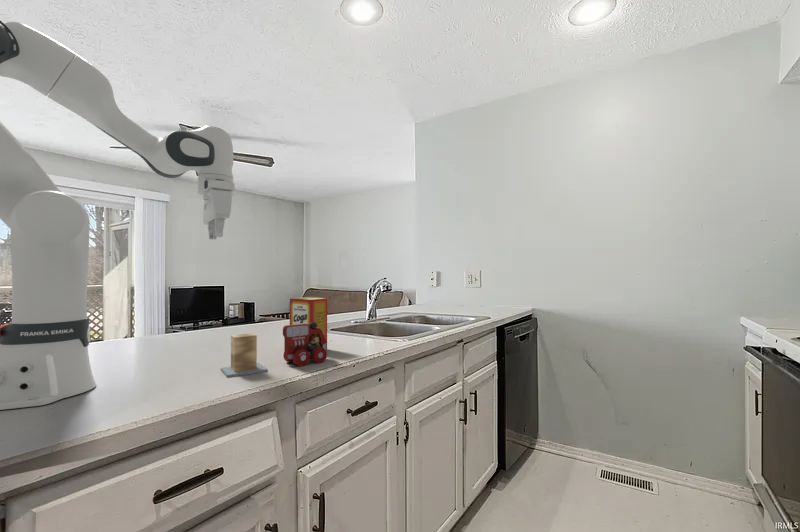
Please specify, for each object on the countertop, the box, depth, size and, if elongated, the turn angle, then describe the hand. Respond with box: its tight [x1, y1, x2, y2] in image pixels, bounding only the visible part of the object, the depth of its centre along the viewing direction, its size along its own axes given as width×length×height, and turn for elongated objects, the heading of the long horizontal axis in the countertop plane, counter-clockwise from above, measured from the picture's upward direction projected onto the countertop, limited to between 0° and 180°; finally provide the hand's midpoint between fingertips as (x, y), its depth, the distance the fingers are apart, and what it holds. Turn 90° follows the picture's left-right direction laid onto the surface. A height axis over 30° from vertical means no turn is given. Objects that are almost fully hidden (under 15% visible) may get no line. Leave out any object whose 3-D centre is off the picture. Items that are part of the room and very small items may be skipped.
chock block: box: [230, 333, 258, 372], centre depth 93 cm, size 5×4×8 cm
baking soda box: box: [289, 296, 328, 345], centre depth 119 cm, size 10×6×16 cm
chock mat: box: [220, 362, 269, 378], centre depth 93 cm, size 9×8×1 cm
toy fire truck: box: [282, 322, 328, 367], centre depth 102 cm, size 7×12×10 cm, turn 133°
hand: (215, 238), depth 107 cm, fingers open, 8 cm apart
